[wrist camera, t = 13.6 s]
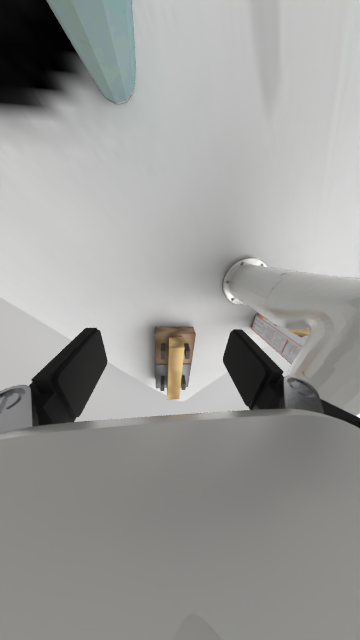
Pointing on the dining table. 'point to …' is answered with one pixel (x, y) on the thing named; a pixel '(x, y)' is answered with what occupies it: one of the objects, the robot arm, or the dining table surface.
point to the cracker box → (281, 337)
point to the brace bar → (175, 367)
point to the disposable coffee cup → (102, 42)
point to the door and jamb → (163, 348)
